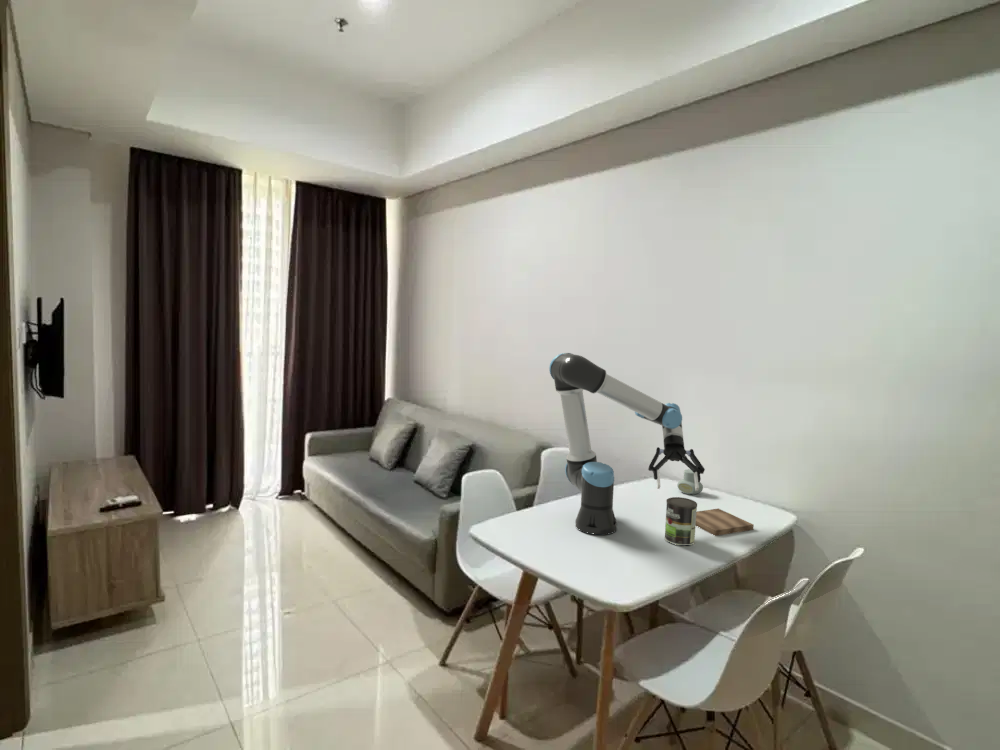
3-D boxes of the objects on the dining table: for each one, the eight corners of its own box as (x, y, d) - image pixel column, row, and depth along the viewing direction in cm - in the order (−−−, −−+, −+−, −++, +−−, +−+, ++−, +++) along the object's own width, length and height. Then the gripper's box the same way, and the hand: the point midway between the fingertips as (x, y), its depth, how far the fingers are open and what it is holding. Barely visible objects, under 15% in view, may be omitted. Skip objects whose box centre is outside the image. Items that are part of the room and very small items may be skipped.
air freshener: (705, 493, 245) (706, 472, 244) (696, 497, 239) (698, 475, 238) (683, 487, 253) (684, 466, 252) (673, 491, 247) (675, 470, 246)
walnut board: (715, 535, 197) (715, 530, 197) (681, 518, 214) (682, 513, 214) (753, 529, 204) (753, 524, 203) (718, 513, 220) (718, 508, 220)
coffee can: (678, 548, 186) (681, 508, 184) (658, 537, 195) (660, 499, 194) (701, 543, 190) (703, 504, 189) (680, 532, 199) (682, 495, 198)
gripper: (704, 445, 215) (711, 494, 202) (639, 442, 219) (642, 490, 206) (708, 435, 210) (715, 485, 196) (641, 432, 213) (644, 481, 200)
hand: (677, 488), depth 201 cm, fingers open, 13 cm apart
